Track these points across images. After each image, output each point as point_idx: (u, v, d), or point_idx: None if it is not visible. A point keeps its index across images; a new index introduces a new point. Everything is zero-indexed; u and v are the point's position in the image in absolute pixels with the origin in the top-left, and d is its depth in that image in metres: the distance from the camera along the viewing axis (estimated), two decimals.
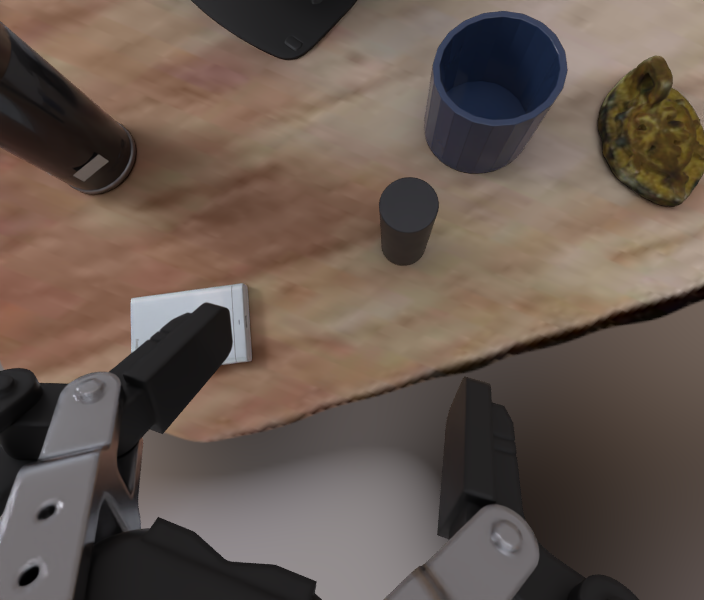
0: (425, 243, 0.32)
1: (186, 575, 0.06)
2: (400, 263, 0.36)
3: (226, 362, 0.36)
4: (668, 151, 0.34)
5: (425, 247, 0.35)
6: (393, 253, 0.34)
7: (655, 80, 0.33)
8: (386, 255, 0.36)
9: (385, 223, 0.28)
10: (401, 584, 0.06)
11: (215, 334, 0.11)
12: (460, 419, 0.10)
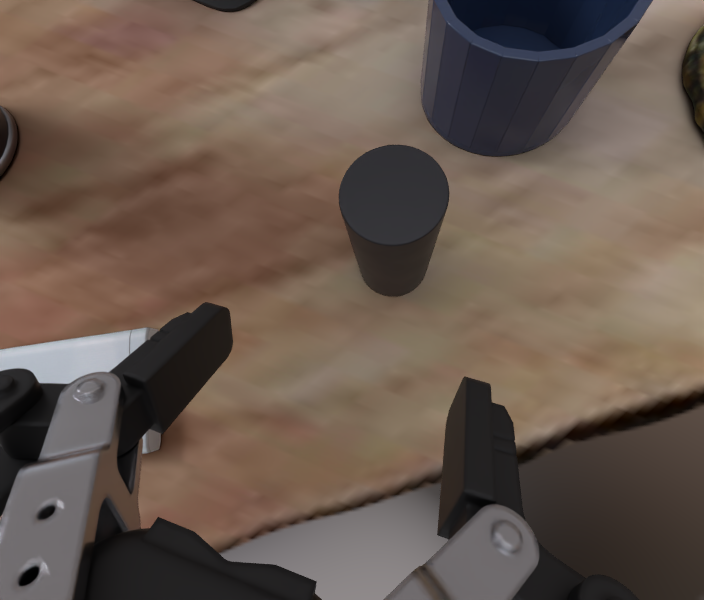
0: (426, 263, 0.19)
1: (186, 575, 0.06)
2: (389, 293, 0.23)
3: None
4: None
5: (426, 268, 0.22)
6: (374, 279, 0.21)
7: None
8: (366, 281, 0.23)
9: (350, 229, 0.15)
10: (401, 584, 0.06)
11: (215, 334, 0.11)
12: (460, 419, 0.09)
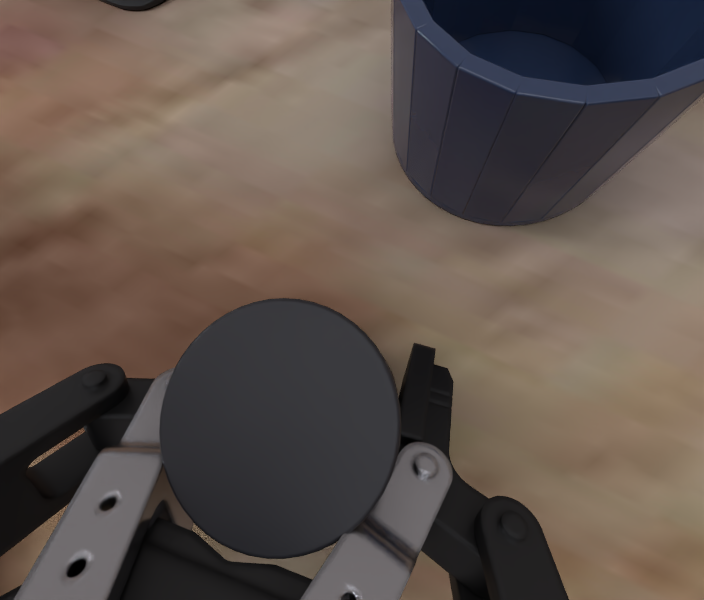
0: None
1: (186, 575, 0.06)
2: None
3: None
4: None
5: None
6: None
7: None
8: None
9: None
10: (343, 536, 0.06)
11: None
12: (405, 378, 0.10)
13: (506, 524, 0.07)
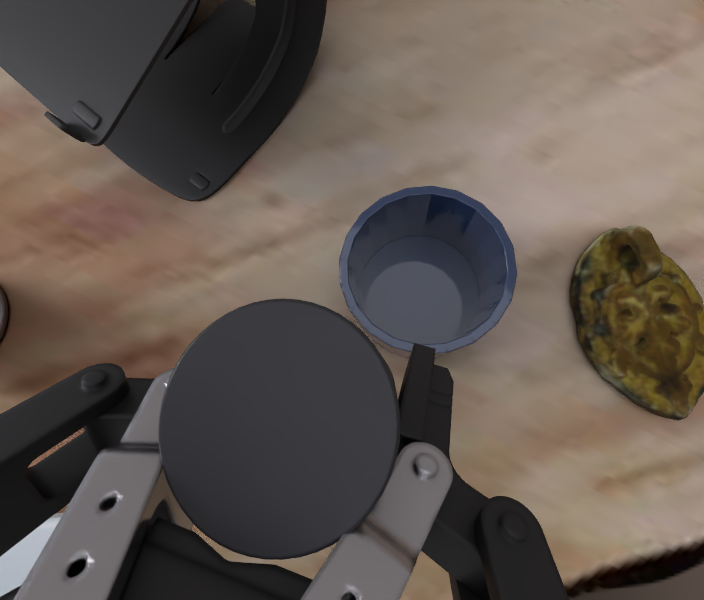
0: None
1: (186, 575, 0.06)
2: None
3: None
4: (663, 347, 0.26)
5: None
6: None
7: (640, 259, 0.25)
8: None
9: None
10: (343, 536, 0.06)
11: None
12: (405, 378, 0.10)
13: (506, 524, 0.07)
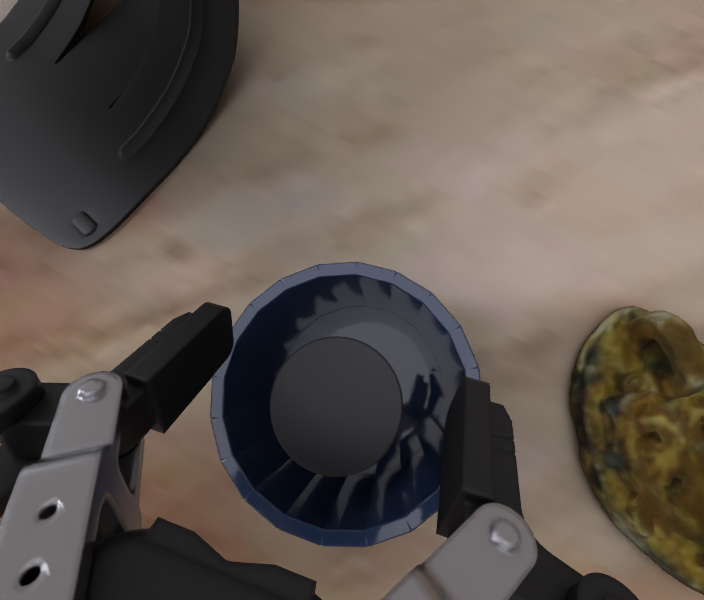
0: None
1: (186, 575, 0.06)
2: None
3: None
4: None
5: None
6: None
7: (674, 366, 0.17)
8: None
9: None
10: (400, 583, 0.06)
11: (216, 334, 0.11)
12: (459, 418, 0.10)
13: None
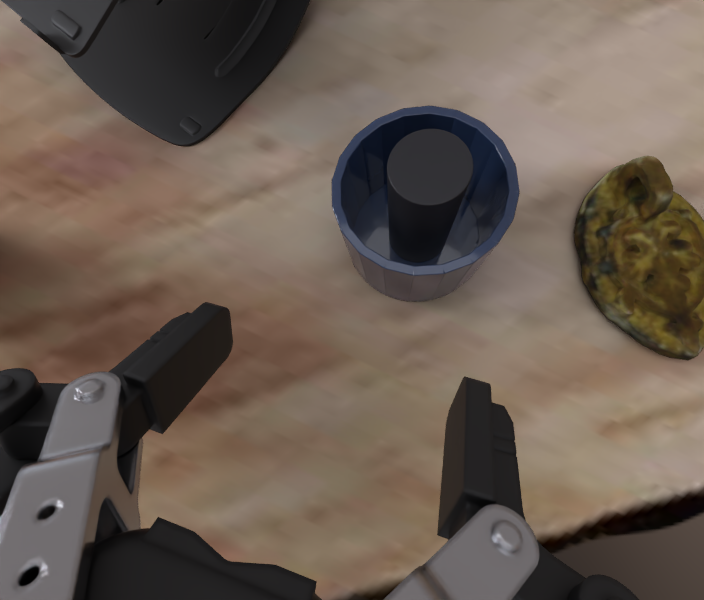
0: (449, 228, 0.24)
1: (186, 575, 0.06)
2: (415, 259, 0.28)
3: None
4: (672, 284, 0.25)
5: (447, 236, 0.27)
6: (406, 244, 0.25)
7: (649, 190, 0.24)
8: (396, 249, 0.28)
9: (396, 193, 0.19)
10: (401, 584, 0.06)
11: (216, 334, 0.11)
12: (460, 419, 0.10)
13: None
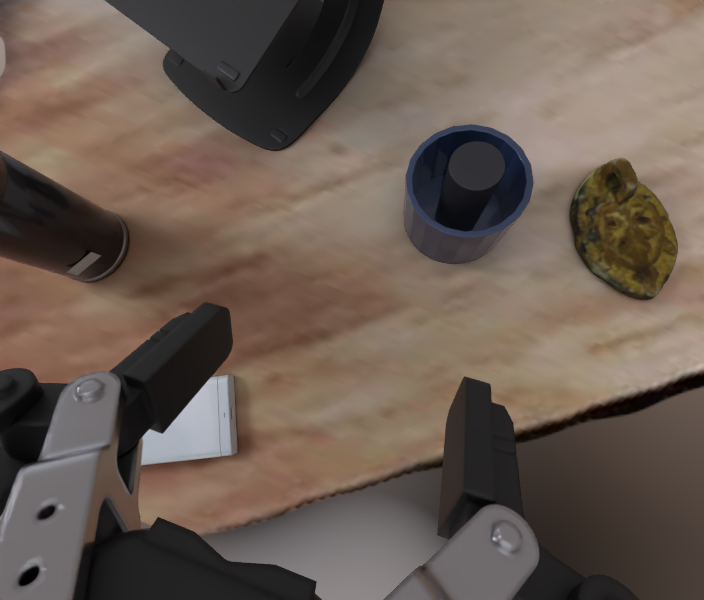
0: (484, 208, 0.34)
1: (186, 575, 0.06)
2: None
3: (211, 456, 0.36)
4: (638, 247, 0.35)
5: None
6: (452, 220, 0.36)
7: (621, 181, 0.35)
8: None
9: (455, 183, 0.30)
10: (401, 584, 0.06)
11: (215, 334, 0.11)
12: (460, 419, 0.10)
13: None
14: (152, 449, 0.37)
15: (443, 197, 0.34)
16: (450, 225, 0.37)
